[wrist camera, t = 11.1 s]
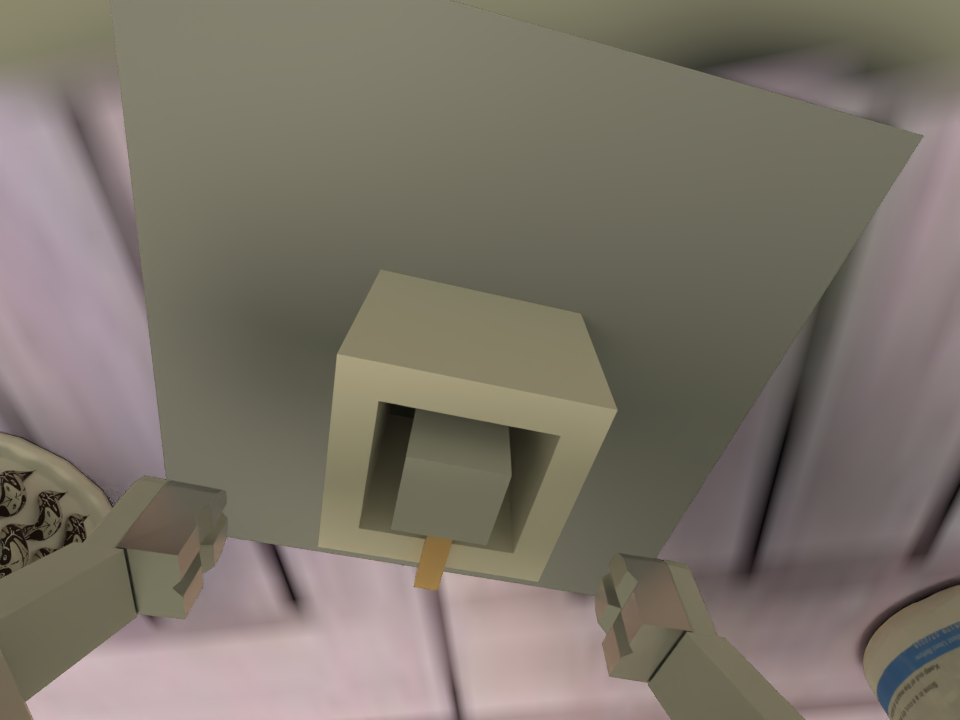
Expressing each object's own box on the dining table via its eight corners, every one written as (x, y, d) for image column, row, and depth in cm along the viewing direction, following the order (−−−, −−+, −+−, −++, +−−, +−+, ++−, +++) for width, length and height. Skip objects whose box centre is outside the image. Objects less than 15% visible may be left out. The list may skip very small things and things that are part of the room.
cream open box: (581, 313, 14) (620, 419, 10) (521, 473, 17) (532, 605, 13) (380, 269, 13) (332, 362, 9) (356, 443, 16) (313, 571, 12)
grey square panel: (887, 129, 12) (1185, 178, 7) (621, 575, 21) (666, 744, 16) (136, -85, 11) (-221, -236, 5) (188, 503, 20) (76, 668, 14)
